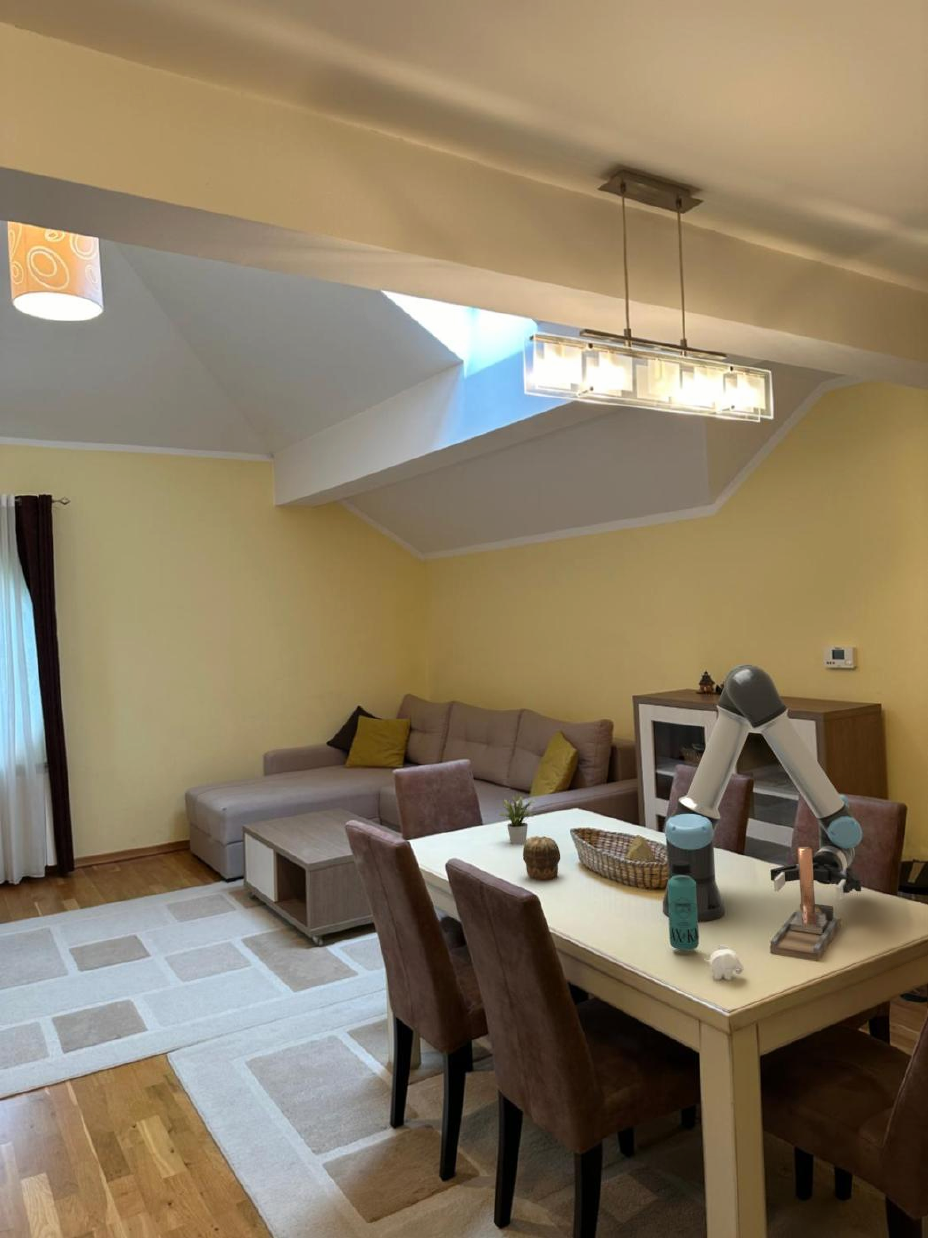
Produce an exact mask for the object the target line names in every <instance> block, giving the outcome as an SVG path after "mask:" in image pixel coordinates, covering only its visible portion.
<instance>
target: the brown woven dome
mask: <svg viewBox="0 0 928 1238" xmlns="http://www.w3.org/2000/svg"><path fill="white" fill-rule="evenodd" d="M523 845H524V846H523V852H522V858H523V862H524V863H525V866H526V868H525V869H526V873H527V875H528V877H529V878H530V879H531V880H535V881H543V882H544V881H551V880H554V879H557V878H559V876H558V873H559V871H558V870H559V862H561V852H560V848H559V846H558V843H557V842H556V841H555V839H553V838H551V837H546V836H545V835H544V836H541V837H539V836H538V835H536V836H531V837H529V838H527V839H526V842H525V844H523Z"/></svg>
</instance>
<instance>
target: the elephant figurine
mask: <svg viewBox="0 0 928 1238" xmlns="http://www.w3.org/2000/svg"><path fill="white" fill-rule="evenodd" d="M704 961H706V962H708V963H709V968H710V971H711V973H712V976H713V978H714V979H715V980H716V981H719V980H721V979H722V976H723V978H724V979H725V980H727V981H731V980H732V975H733V971H735V973H736V974H737V975H741V974H742V973H743V972H744V965H743V963H742V961H741V960H740V958H739V957H738V954H737V953H736V952H735V951H734V950H732V949H731V948H730V947H729V946H728V945H727V944H720V945H719V946H718V948H717V950H715V951H713V952H712V953H711V955H710V957H709V959H708V960H707V959H705V958H704Z"/></svg>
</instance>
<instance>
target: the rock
mask: <svg viewBox="0 0 928 1238" xmlns="http://www.w3.org/2000/svg"><path fill="white" fill-rule="evenodd" d="M625 857H626V858H628V859H632V860H637V861H647V862H656V863H657V861H656V857H655V855H654V852H653V850H652V848H651V846H650V845H649V844H648V842H647V841H646V839H645V837H643V836H642V835H640V834H637V835H635V838H634V839H633V841H632V843H631V845H630V847H629V848H628V852H627V853H626V854H625Z"/></svg>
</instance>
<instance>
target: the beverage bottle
mask: <svg viewBox="0 0 928 1238" xmlns="http://www.w3.org/2000/svg"><path fill="white" fill-rule="evenodd" d="M672 873H675V874H689V873H691V869H690V864H689V863H688V862H685V861H676V862H673V863H672ZM667 884H668V900H669V908H668V909H669V915H667V917H668V931H669V937H668V938H669V943H670V946H671V947H672V948H674V949H676V950H681V951H693V950H695V949H697V948H698V947H699V944H700V934H699V933H700V931H699V921H698V916H697V909H698V908H697V898H696V882H695V881H694V880H693V879H692V878H691V877H689V876H684V875H677V876H673V877H672V878H671V879H670V880H669V881H667Z"/></svg>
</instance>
